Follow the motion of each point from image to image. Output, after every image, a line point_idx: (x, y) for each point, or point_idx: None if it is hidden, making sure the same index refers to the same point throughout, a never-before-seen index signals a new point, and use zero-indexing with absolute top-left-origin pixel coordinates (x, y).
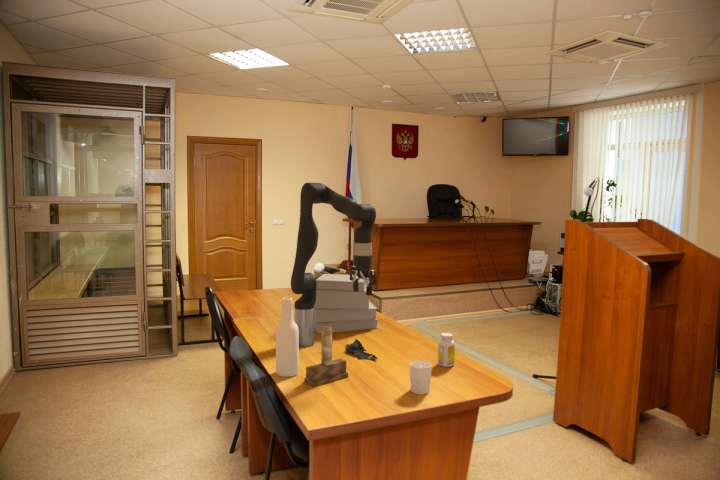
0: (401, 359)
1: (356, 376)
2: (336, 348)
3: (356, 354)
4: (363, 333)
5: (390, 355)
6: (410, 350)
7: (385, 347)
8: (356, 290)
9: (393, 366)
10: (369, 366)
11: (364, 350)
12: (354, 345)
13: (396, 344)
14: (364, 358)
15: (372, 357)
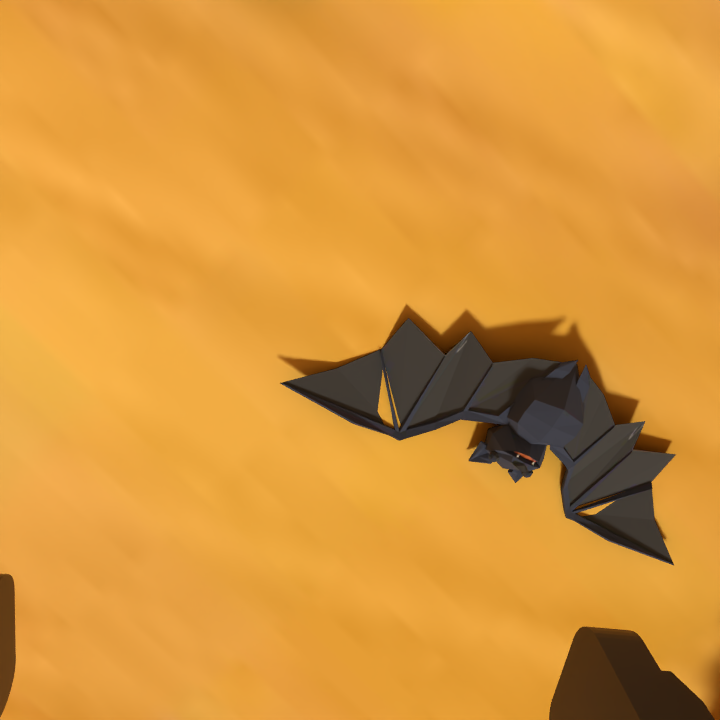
0: (201, 508)
1: (165, 33)
2: (682, 363)
3: (465, 351)
4: (713, 678)
5: (304, 513)
6: (279, 653)
7: (432, 593)
8: (575, 700)
9: (139, 380)
10: (252, 264)
11: (479, 448)
12: (542, 414)
13: (417, 672)
14: (388, 352)
15: (358, 402)
